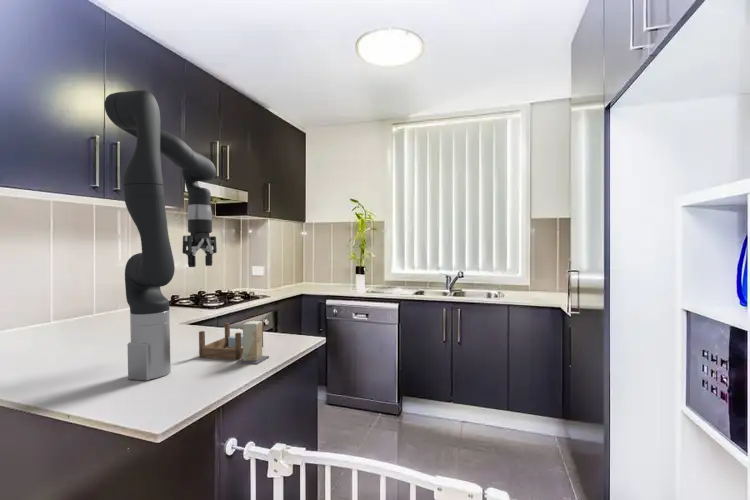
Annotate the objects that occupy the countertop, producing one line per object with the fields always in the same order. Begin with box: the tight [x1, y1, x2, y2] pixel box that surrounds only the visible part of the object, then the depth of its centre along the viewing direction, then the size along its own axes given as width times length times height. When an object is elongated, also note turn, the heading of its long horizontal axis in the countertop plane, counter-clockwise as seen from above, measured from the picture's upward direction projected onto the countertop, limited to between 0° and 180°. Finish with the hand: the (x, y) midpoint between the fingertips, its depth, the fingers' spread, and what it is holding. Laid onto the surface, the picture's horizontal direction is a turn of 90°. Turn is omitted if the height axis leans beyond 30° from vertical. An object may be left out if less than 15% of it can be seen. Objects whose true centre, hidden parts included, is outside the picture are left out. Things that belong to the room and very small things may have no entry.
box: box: [242, 320, 263, 361], centre depth 115 cm, size 5×4×11 cm
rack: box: [198, 322, 264, 361], centre depth 124 cm, size 14×14×8 cm
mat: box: [235, 355, 270, 365], centre depth 115 cm, size 7×7×1 cm
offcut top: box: [227, 332, 243, 348], centre depth 123 cm, size 6×4×3 cm, turn 160°
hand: (200, 266), depth 129 cm, fingers open, 8 cm apart
